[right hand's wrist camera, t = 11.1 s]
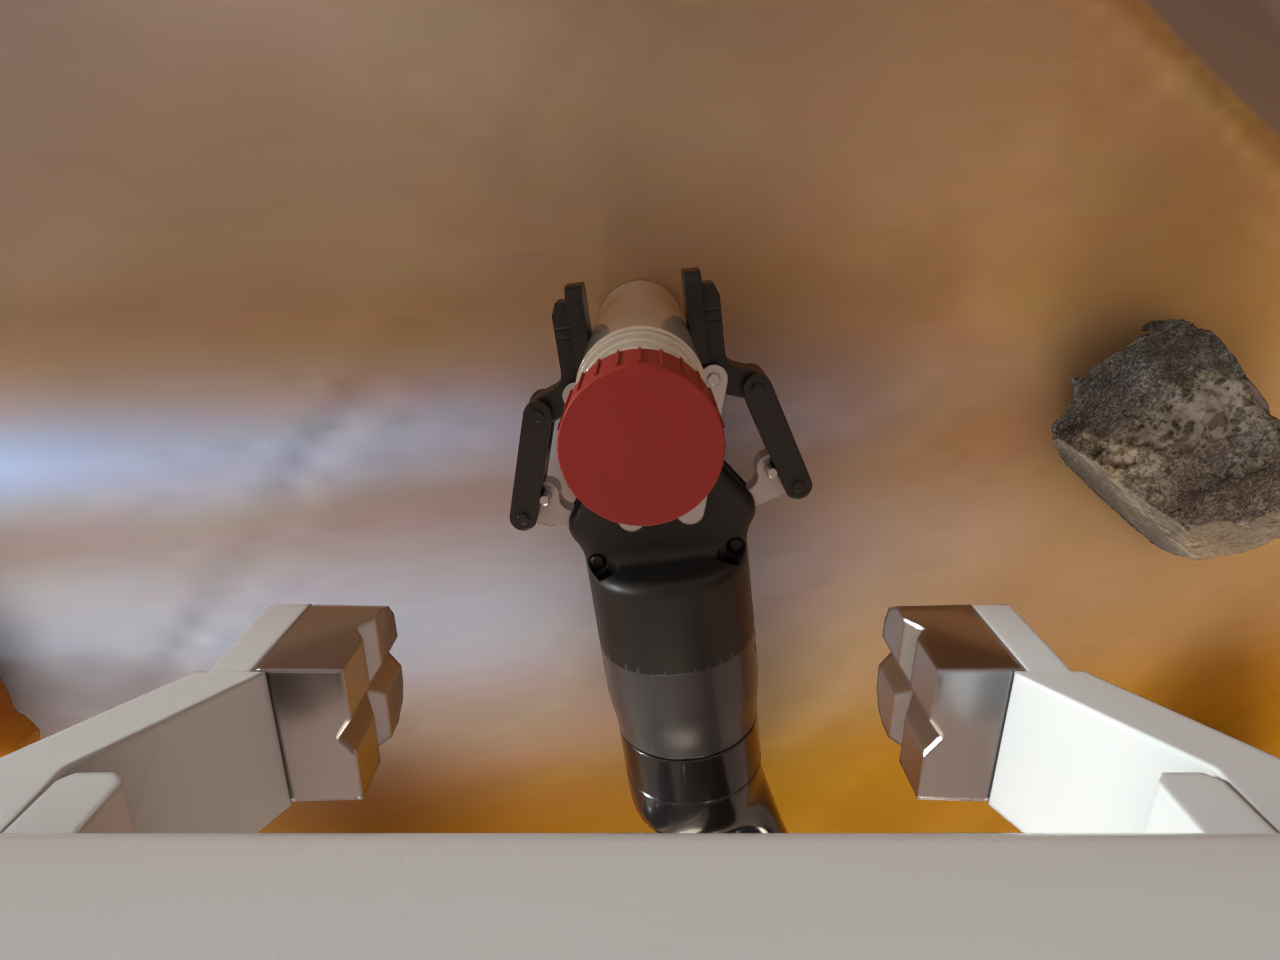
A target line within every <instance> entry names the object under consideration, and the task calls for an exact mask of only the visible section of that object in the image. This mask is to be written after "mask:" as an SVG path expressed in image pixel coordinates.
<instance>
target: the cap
mask: <svg viewBox="0 0 1280 960" xmlns="http://www.w3.org/2000/svg"><path fill="white" fill-rule="evenodd" d="M717 406H718V405H717V403H716V400H715V398H714V395H713V392H712V390H711V388H710V387H709V388H708V387H707V385H706V384H705V382H704V380H703V379H702V378H701V375H700V372H699V371H698V370H697V371H695V370H694V369H693V368H692V367H691V366H690V365H688V364H687V363H685V362H684V361H683V358H682V357H680V358H677V357H675V356H673V355H671V354H668V353H666V352H663V349H660V351H659V350H654V349H644V348H641V347H638V349H629V350H623V351H620V350H617V352H616V353H613V354H611V355H609V356H607V357H605V358H603V359H600V358H599V359H597V362H596V363H595V364H594V365H593V366H592V367H590V368H589V369H588V370H587V371H586V372H585V373H584V372H582V373H581V376H580V379H579V381H578V382H577V384H576V385H575V387H574V389H573V390H572V389H571V390H570V392H569V395H568V398H567V400H566V403H565V406H564V411H563V414H562V417H561V420H560V422H559V425H558V428H557V430H559V433H558V441H557V452H558V460H559V464H560V468H561V471H562V474H563V476H564V479H565V481H566V482H567V484H568V486H569V488H570V489H571V491H572V492H573V493H574V495H575V496H576V497H577V498H578V499H579V500H580V501H581V502H582V503H583V504H584V505H585V506H586V507H587V508H589V509H590V510H591V511H593V512H594V513H596V514H598V515H599V516H601V517H603V518H606V519H608V520H610V521H613V522H616V523H620V524H625V525H630V526H652V525H658V524H663V523H666V522H669V521H672V520H674V519H677V518H679V517H681V516H683V515H685V514H686V513H688V512H690V511H691V510H692V509H694V508H695V507H696V506H698V505H699V504H700V503H701V502H702V501H703V500H704V499H705V498H706V496H707V495H708V494H709V492H710V491H711V490H712V488H713V487H714V485H715V483H716V481H717V479H718V477H719V475H720V472H721V469H722V466H723V462H724V455H725V448H726V446H725V436H724V430H723V428H725V426H724V423H723V420H722V418H721V415H720V412H719V410H718V407H717Z"/></svg>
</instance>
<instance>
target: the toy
mask: <svg viewBox="0 0 1280 960" xmlns="http://www.w3.org/2000/svg"><path fill="white" fill-rule="evenodd" d="M37 741H40V730H39V728H38V727H37V726H36V725H35V724H34V723H33V722H32V721H30V720H29V719H28V718H27V717H26V716H25V715H23V714H21V713H19V712H18V711H17V710H16V709H15V707H14V706H13V704H12V701H11V699H10V696H9V694H8V692H7V690H6V687H5V685H4V684H3V682H2V681H1V679H0V758H1V757H3V756H6V755H8V754H10V753H12V752H15V751H17V750H19V749H22V748H24V747H26V746H28V745H31V744H33V743H35V742H37Z"/></svg>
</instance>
